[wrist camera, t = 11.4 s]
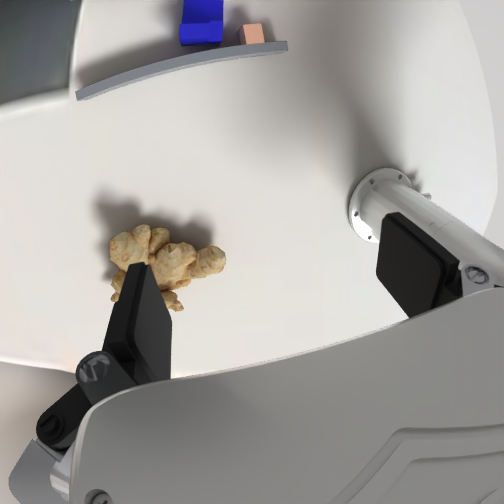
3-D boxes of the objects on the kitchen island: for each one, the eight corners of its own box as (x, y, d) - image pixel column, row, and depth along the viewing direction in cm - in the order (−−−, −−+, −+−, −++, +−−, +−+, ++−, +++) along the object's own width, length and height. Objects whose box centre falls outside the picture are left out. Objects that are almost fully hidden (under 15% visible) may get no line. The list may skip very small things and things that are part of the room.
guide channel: (258, -50, 20) (264, -60, 17) (279, 53, 29) (288, 50, 26) (71, -6, 19) (61, -13, 16) (87, 99, 27) (77, 100, 24)
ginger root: (85, 281, 39) (77, 309, 32) (135, 190, 37) (134, 200, 30) (170, 322, 46) (178, 352, 39) (222, 244, 45) (239, 263, 38)
